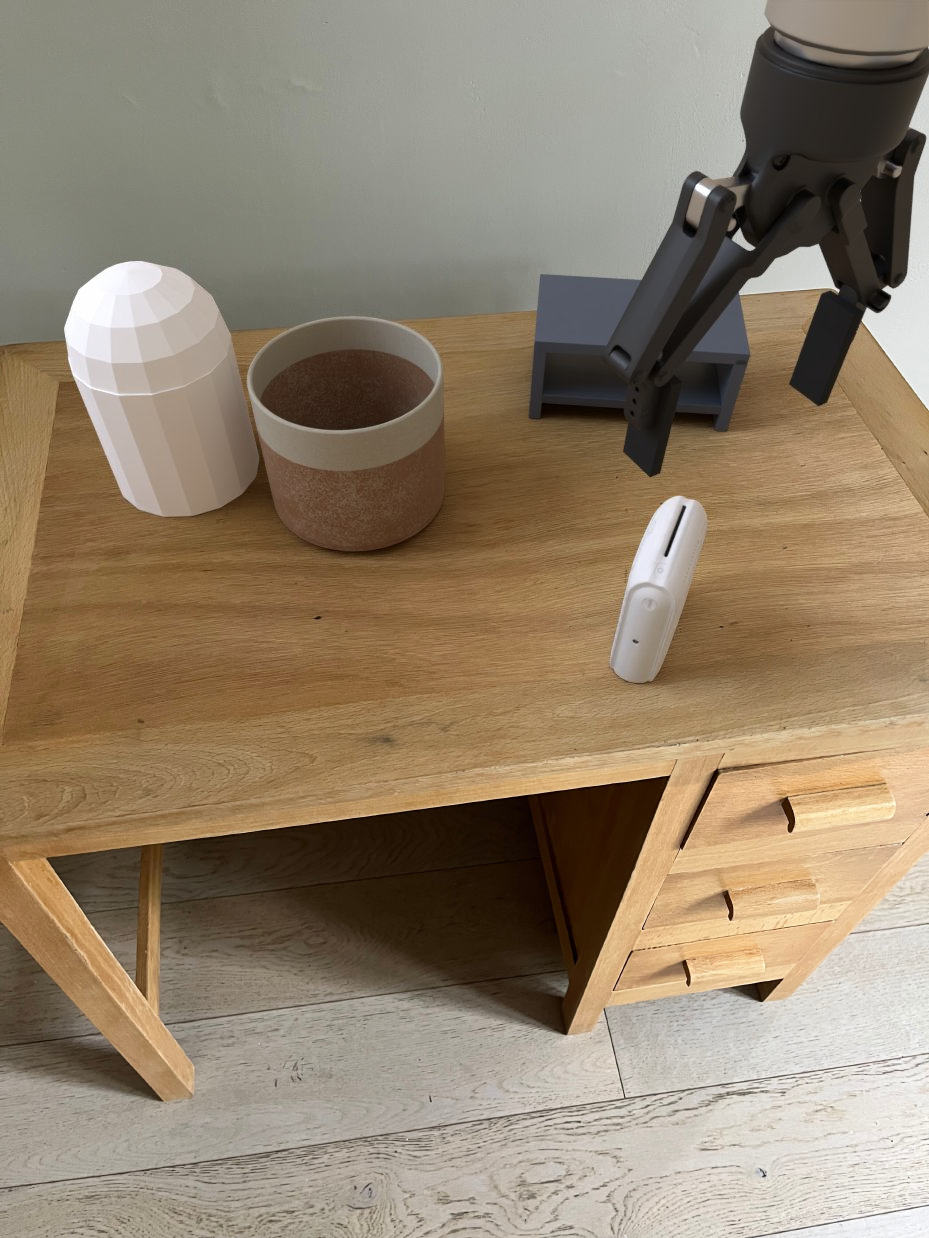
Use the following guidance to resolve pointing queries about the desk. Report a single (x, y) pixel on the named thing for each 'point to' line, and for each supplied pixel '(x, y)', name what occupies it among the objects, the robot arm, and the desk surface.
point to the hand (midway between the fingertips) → (727, 427)
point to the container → (162, 388)
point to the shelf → (581, 328)
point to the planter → (351, 430)
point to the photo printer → (658, 588)
